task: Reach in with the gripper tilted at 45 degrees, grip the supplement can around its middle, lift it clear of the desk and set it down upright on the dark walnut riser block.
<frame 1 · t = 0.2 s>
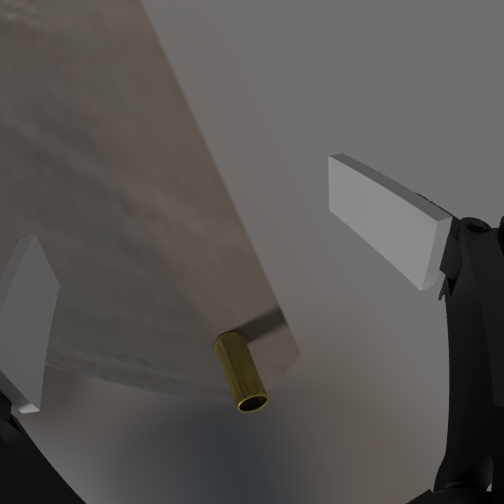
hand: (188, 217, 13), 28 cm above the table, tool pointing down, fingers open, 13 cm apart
vase: (228, 341, 59), on the table
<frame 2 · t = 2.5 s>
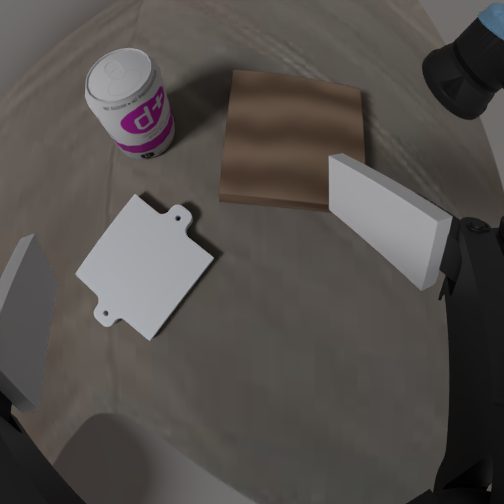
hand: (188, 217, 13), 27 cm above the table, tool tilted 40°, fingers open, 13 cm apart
supplement can: (147, 135, 41), on the table
mounting plate: (144, 267, 40), on the table
walnut riser: (292, 144, 43), on the table
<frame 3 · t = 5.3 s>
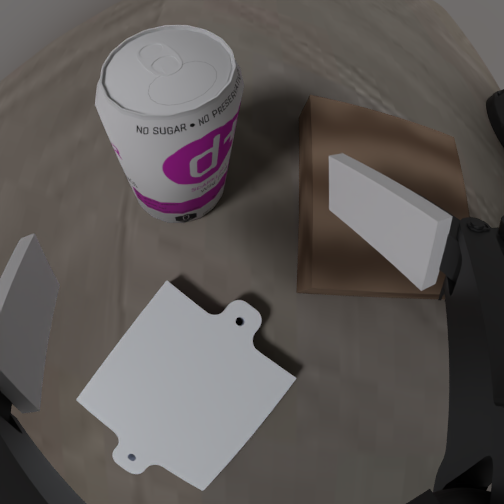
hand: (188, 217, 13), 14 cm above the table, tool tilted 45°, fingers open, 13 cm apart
supplement can: (179, 183, 29), on the table
mounting plate: (184, 389, 25), on the table
walnut riser: (382, 208, 31), on the table
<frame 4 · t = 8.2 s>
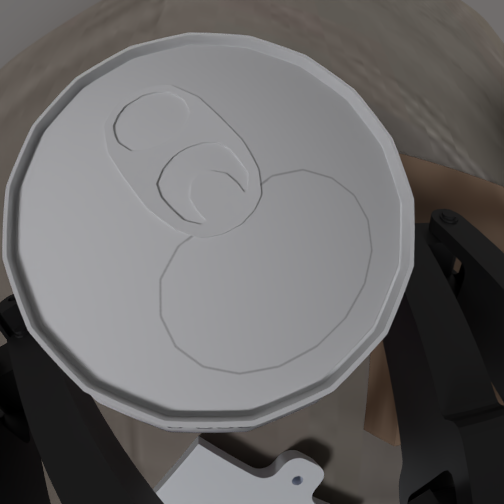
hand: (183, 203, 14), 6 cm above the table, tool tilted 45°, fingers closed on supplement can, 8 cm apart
supplement can: (203, 290, 19), on the table, touching gripper
walnut riser: (462, 301, 22), on the table
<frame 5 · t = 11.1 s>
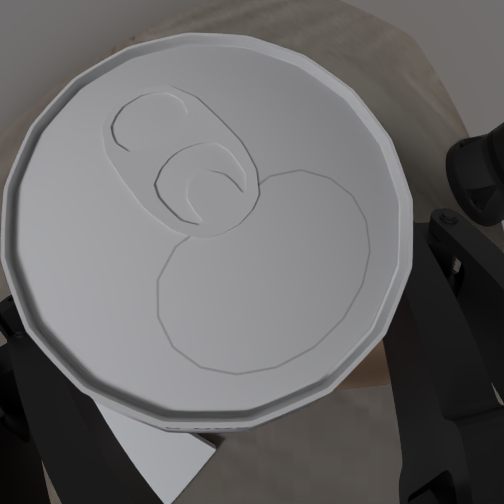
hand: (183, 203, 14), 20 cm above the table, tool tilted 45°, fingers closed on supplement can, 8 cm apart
supplement can: (202, 290, 19), point 14 cm above the table, touching gripper
mounting plate: (134, 451, 29), on the table
walnut riser: (303, 303, 35), on the table
when the fingers open (11 cm above the table, at t = 14.0 s): supplement can drops 1 cm, resting on walnut riser.
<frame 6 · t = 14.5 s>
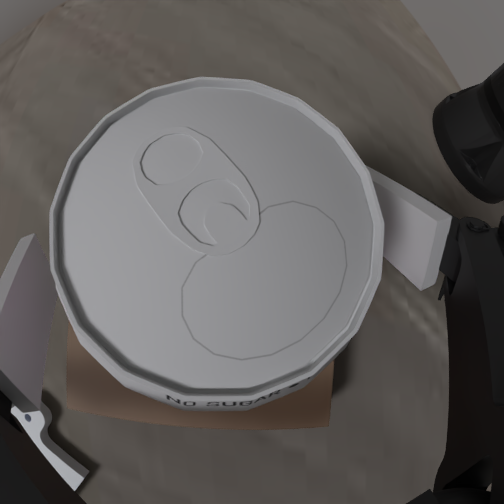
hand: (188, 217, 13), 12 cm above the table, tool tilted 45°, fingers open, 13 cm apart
supplement can: (206, 292, 21), point 4 cm above the table, touching walnut riser
mounting plate: (11, 460, 19), on the table
walnut riser: (203, 297, 24), on the table
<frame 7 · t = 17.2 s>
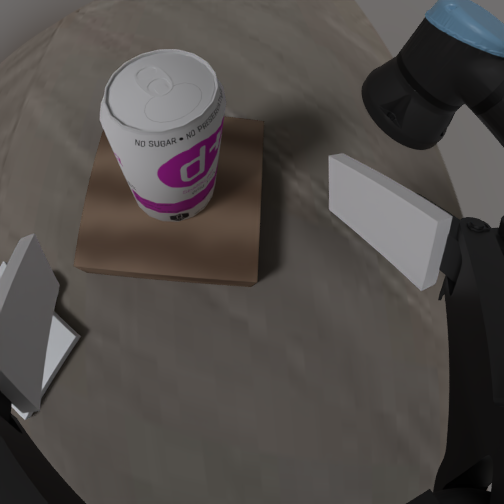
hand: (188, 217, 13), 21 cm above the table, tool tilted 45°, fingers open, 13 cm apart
supplement can: (174, 185, 32), point 4 cm above the table, touching walnut riser
mounting plate: (18, 341, 29), on the table
walnut riser: (174, 199, 35), on the table
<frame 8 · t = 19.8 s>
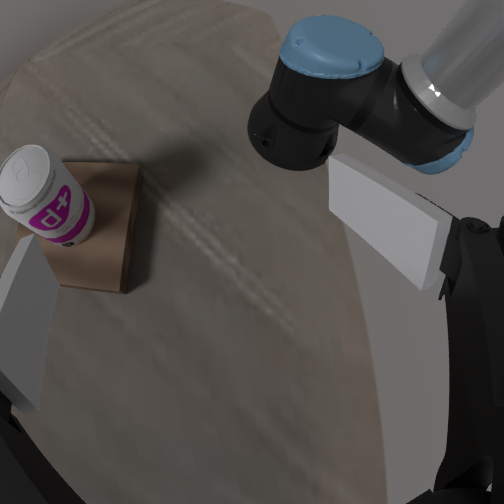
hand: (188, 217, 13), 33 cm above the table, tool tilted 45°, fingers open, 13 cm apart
supplement can: (71, 220, 40), point 4 cm above the table, touching walnut riser
walnut riser: (78, 227, 44), on the table
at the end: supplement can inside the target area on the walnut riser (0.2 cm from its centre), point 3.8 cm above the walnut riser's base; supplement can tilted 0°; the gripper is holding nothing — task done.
